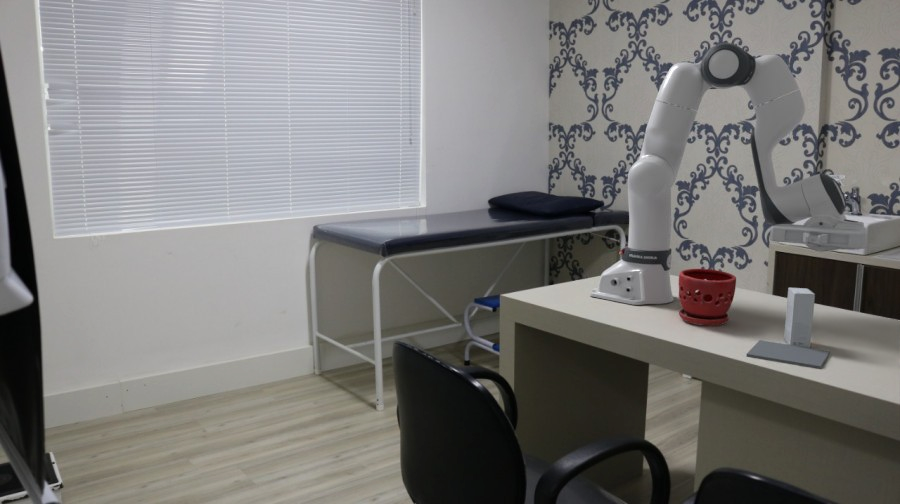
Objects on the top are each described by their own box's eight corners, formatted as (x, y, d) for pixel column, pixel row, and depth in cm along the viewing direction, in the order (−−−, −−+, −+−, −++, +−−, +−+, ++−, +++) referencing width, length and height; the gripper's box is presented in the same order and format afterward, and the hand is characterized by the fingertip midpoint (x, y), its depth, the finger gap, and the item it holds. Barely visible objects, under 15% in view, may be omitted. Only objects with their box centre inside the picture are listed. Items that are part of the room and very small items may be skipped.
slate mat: (746, 356, 154) (746, 353, 154) (759, 342, 164) (759, 340, 164) (820, 368, 146) (820, 366, 146) (829, 353, 156) (829, 351, 156)
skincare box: (811, 348, 160) (815, 294, 158) (789, 347, 160) (794, 293, 158) (803, 340, 165) (808, 287, 163) (783, 339, 166) (787, 287, 164)
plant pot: (669, 323, 179) (671, 274, 177) (686, 312, 190) (688, 266, 188) (724, 332, 172) (728, 281, 170) (739, 319, 183) (742, 272, 180)
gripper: (776, 216, 183) (764, 222, 172) (871, 222, 172) (864, 229, 160) (775, 241, 184) (762, 249, 173) (868, 249, 173) (861, 258, 161)
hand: (812, 240), depth 167 cm, fingers closed
